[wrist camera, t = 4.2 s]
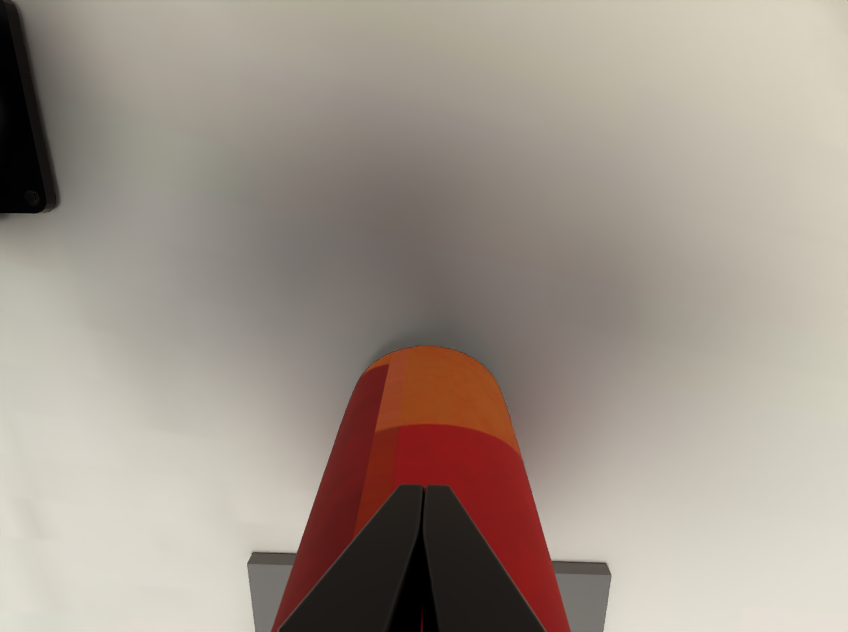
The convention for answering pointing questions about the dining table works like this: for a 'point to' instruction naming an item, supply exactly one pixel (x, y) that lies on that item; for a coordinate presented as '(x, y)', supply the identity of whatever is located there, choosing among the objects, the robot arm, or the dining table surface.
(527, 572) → the paper cup
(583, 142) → the dining table surface
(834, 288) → the dining table surface
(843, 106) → the dining table surface
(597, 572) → the mat
